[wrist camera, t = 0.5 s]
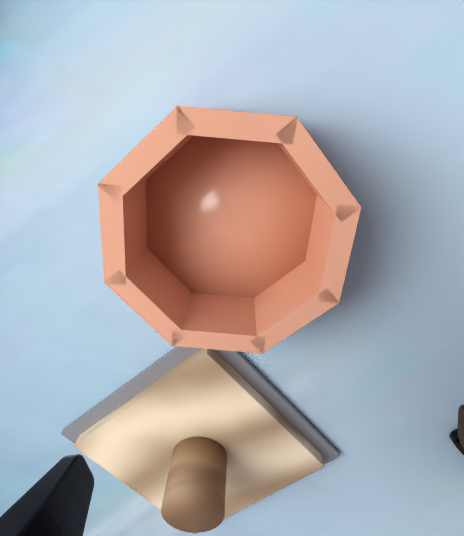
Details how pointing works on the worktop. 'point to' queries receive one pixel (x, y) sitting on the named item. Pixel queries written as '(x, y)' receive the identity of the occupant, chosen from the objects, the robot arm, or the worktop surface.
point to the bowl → (226, 229)
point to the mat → (237, 364)
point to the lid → (200, 444)
